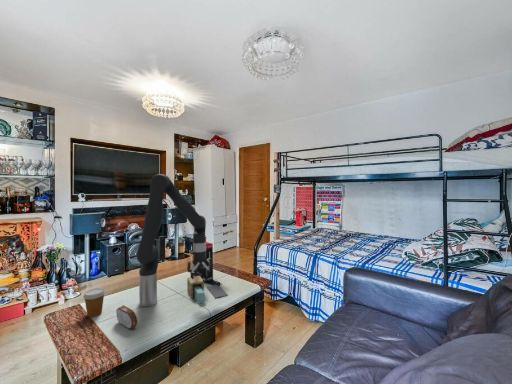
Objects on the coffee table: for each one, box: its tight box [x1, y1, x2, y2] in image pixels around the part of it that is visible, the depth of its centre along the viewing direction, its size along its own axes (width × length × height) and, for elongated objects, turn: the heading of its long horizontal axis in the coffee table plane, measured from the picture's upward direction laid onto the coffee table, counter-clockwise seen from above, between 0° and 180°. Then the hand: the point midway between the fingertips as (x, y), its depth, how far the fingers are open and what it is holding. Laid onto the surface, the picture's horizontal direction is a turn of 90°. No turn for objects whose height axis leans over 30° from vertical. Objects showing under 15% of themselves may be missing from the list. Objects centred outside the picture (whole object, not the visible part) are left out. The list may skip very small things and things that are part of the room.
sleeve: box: [186, 276, 205, 299], centre depth 150 cm, size 8×10×9 cm
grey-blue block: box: [193, 285, 205, 305], centre depth 144 cm, size 4×13×6 cm, turn 28°
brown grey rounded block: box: [116, 305, 138, 330], centre depth 116 cm, size 15×3×8 cm, turn 56°
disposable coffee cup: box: [83, 287, 106, 318], centre depth 126 cm, size 10×10×12 cm
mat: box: [206, 284, 229, 299], centre depth 154 cm, size 8×18×1 cm, turn 28°
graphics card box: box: [192, 241, 214, 283], centre depth 175 cm, size 17×7×27 cm, turn 47°
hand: (200, 277), depth 140 cm, fingers open, 8 cm apart
